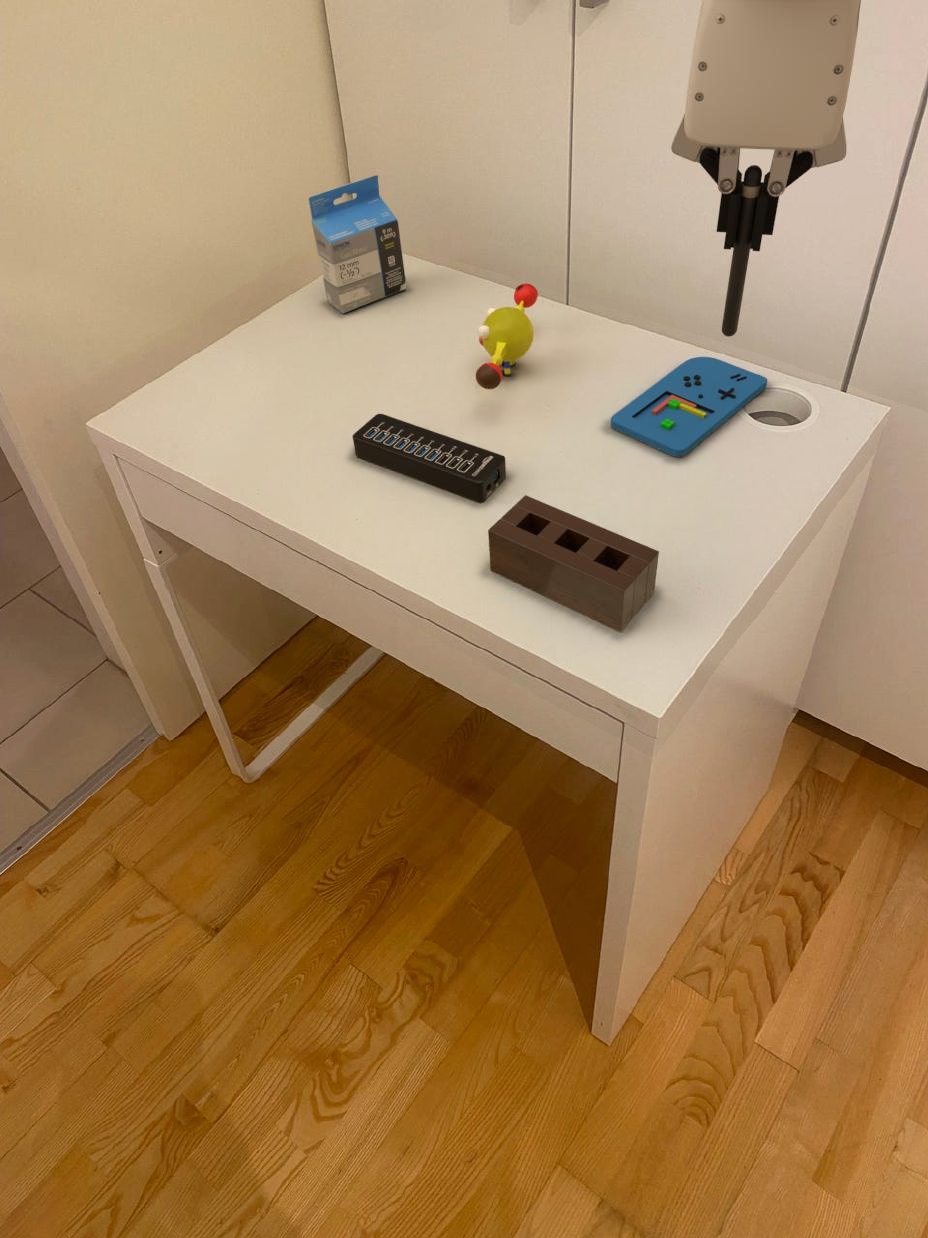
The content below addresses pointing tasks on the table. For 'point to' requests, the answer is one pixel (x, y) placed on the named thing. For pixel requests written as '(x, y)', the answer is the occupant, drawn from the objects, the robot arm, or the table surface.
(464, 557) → the table surface
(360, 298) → the label tape box
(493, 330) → the toy figure
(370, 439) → the multiport hub
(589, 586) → the pen stand
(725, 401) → the handheld gaming device
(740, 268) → the stylus
